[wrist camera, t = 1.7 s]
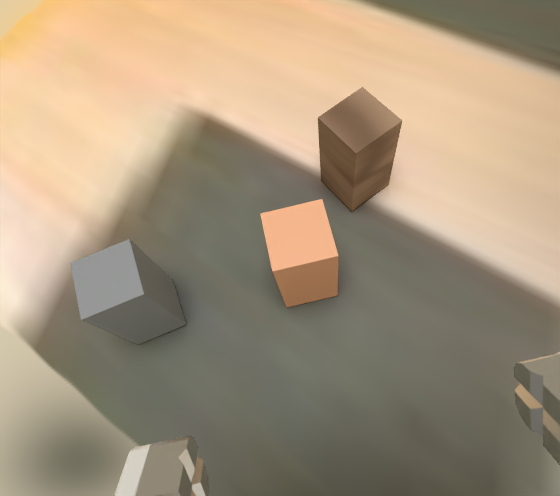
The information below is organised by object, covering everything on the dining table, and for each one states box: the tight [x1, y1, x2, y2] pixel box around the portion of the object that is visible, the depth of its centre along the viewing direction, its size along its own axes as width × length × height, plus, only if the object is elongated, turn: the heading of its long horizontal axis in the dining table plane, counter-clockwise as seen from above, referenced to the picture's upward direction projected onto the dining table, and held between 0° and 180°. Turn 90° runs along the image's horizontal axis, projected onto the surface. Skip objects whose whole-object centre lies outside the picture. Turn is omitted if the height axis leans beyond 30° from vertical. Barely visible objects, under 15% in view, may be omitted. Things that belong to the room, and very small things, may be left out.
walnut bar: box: [318, 87, 402, 211], centre depth 36 cm, size 4×4×9 cm
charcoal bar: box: [70, 239, 186, 345], centre depth 34 cm, size 4×4×9 cm
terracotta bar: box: [261, 199, 338, 307], centre depth 33 cm, size 4×4×9 cm
